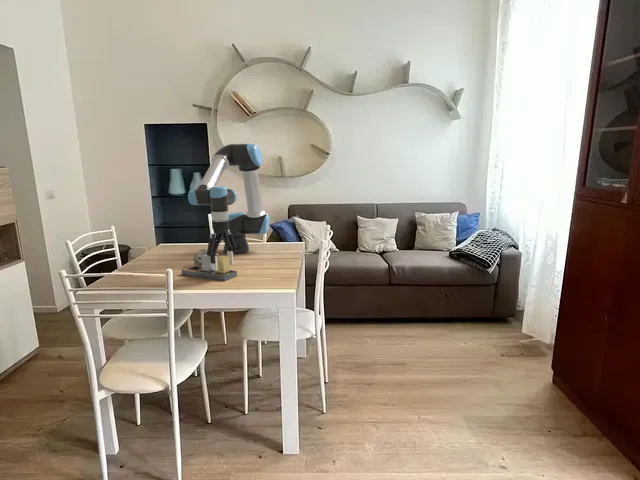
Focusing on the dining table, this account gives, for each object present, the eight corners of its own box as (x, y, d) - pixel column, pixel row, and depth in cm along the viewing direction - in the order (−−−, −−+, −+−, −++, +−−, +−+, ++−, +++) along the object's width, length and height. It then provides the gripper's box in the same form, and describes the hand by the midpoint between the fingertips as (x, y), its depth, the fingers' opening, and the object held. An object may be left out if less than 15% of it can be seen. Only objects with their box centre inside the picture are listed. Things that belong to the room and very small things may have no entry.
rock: (190, 265, 215) (195, 247, 214) (192, 264, 221) (198, 246, 221) (213, 272, 216) (218, 254, 216) (215, 271, 222) (220, 253, 222)
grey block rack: (195, 270, 210) (194, 265, 210) (237, 276, 199) (236, 270, 199) (181, 274, 202) (181, 269, 202) (225, 281, 191) (224, 275, 191)
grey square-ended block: (208, 273, 204) (207, 253, 202) (216, 274, 202) (214, 254, 200) (202, 276, 200) (201, 255, 198) (209, 277, 198) (208, 256, 196)
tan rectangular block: (222, 275, 200) (221, 255, 198) (230, 276, 198) (229, 256, 196) (216, 278, 196) (215, 257, 194) (224, 279, 194) (223, 258, 192)
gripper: (229, 216, 204) (232, 261, 208) (196, 223, 183) (199, 272, 187) (242, 217, 201) (244, 262, 205) (209, 224, 180) (212, 274, 184)
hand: (222, 267), depth 196 cm, fingers open, 11 cm apart
